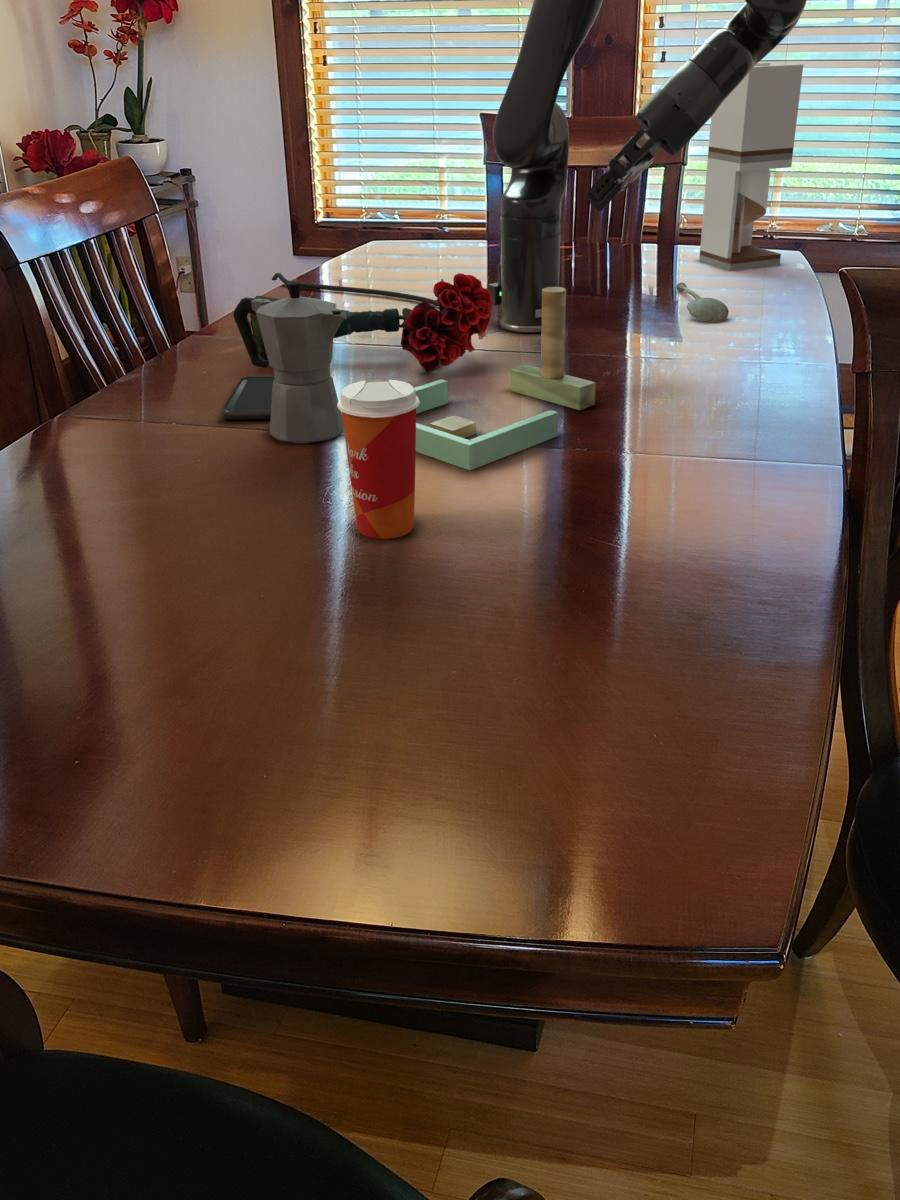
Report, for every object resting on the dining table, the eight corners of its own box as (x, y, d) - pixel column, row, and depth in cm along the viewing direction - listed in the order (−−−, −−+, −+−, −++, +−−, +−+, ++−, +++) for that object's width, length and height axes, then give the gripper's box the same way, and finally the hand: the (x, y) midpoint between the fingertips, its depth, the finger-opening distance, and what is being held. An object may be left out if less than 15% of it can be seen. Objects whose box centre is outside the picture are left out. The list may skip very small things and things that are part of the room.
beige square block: (453, 426, 132) (453, 414, 131) (476, 434, 129) (476, 422, 129) (429, 435, 130) (429, 423, 129) (453, 442, 127) (452, 430, 126)
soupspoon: (690, 327, 173) (731, 327, 173) (693, 306, 171) (734, 306, 171) (662, 291, 192) (699, 291, 192) (665, 272, 190) (701, 272, 190)
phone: (220, 411, 135) (242, 376, 148) (221, 420, 136) (243, 384, 149) (282, 410, 135) (299, 375, 148) (283, 419, 136) (299, 383, 149)
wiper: (525, 386, 146) (526, 280, 139) (594, 404, 138) (599, 294, 131) (510, 391, 144) (510, 284, 137) (579, 410, 136) (583, 298, 129)
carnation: (269, 409, 163) (499, 396, 160) (232, 357, 145) (490, 341, 142) (271, 314, 167) (497, 299, 163) (235, 251, 149) (488, 233, 145)
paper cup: (346, 513, 110) (336, 379, 103) (421, 509, 110) (416, 375, 103) (346, 546, 103) (335, 405, 96) (426, 542, 103) (421, 401, 97)
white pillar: (729, 270, 206) (749, 67, 190) (699, 260, 215) (715, 65, 198) (779, 264, 210) (803, 64, 193) (747, 255, 218) (767, 62, 202)
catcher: (442, 401, 141) (441, 378, 139) (557, 436, 128) (558, 412, 127) (354, 430, 132) (353, 406, 130) (469, 470, 119) (469, 445, 118)
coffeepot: (373, 425, 133) (364, 276, 124) (334, 450, 125) (321, 294, 117) (268, 411, 139) (253, 268, 130) (225, 434, 131) (205, 284, 123)
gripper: (659, 98, 149) (576, 190, 154) (661, 75, 135) (569, 177, 140) (697, 137, 149) (613, 228, 154) (703, 118, 136) (610, 218, 140)
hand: (592, 203), depth 147 cm, fingers open, 8 cm apart
